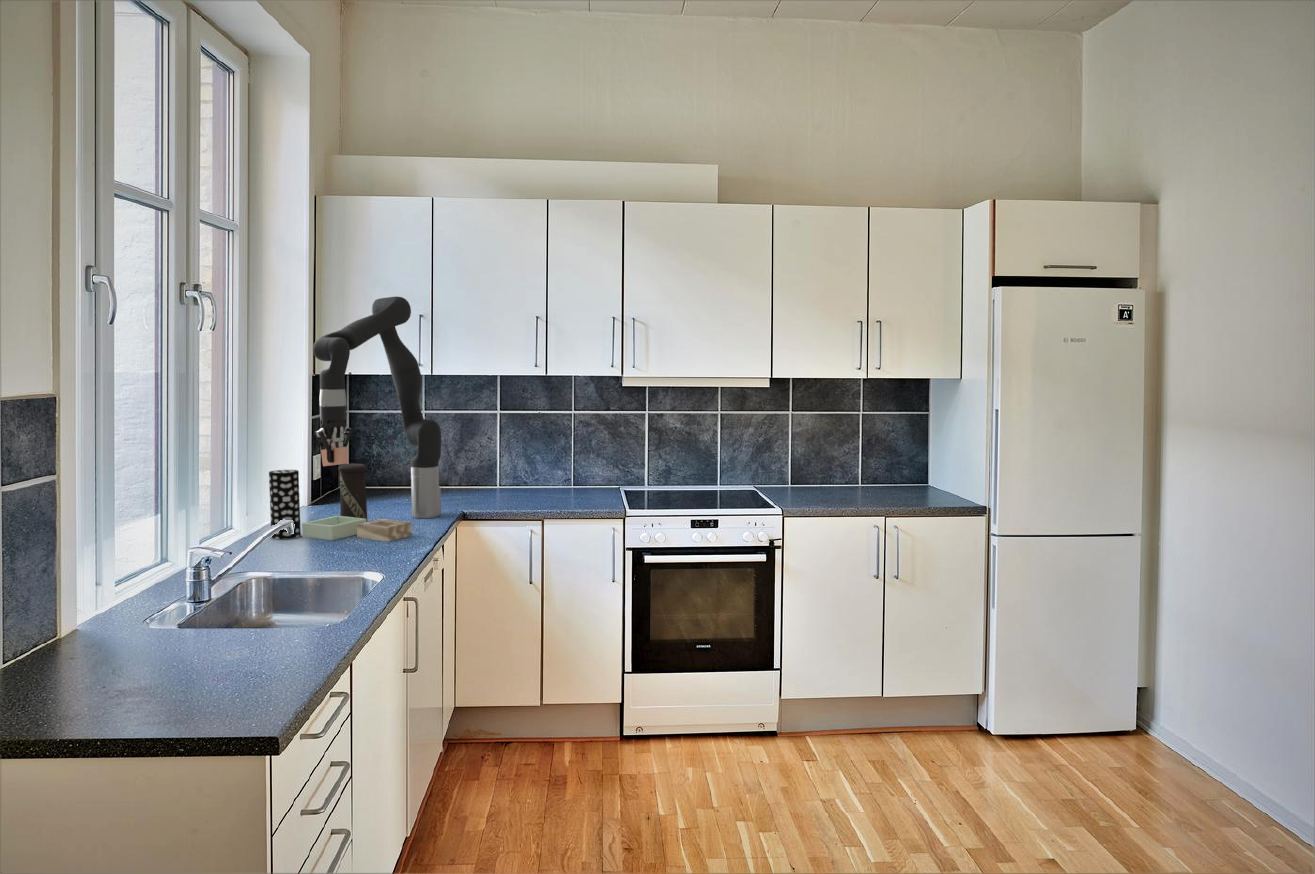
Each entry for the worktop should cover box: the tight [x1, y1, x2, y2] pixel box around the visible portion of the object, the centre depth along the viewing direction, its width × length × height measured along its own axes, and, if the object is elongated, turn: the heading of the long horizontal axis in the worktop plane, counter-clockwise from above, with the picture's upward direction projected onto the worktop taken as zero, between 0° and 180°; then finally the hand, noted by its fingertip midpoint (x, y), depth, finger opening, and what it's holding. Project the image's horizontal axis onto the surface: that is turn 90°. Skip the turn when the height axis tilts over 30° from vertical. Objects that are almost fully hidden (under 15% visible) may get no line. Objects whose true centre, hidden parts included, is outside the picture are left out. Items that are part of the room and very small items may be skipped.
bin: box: [301, 515, 366, 541], centre depth 278 cm, size 14×12×5 cm
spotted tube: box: [268, 469, 302, 540], centre depth 278 cm, size 8×8×20 cm
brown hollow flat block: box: [356, 518, 413, 542], centre depth 275 cm, size 10×12×5 cm
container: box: [337, 462, 368, 522], centre depth 298 cm, size 9×9×20 cm
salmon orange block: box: [320, 446, 350, 467], centre depth 276 cm, size 2×5×8 cm
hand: (334, 461), depth 276 cm, fingers closed on salmon orange block, 2 cm apart
